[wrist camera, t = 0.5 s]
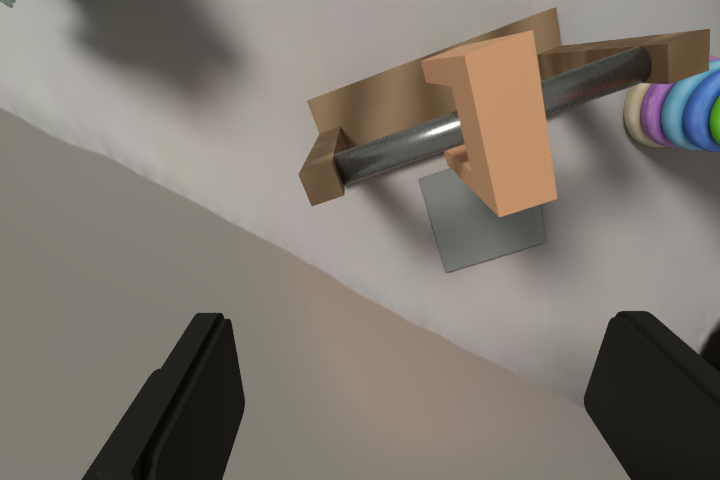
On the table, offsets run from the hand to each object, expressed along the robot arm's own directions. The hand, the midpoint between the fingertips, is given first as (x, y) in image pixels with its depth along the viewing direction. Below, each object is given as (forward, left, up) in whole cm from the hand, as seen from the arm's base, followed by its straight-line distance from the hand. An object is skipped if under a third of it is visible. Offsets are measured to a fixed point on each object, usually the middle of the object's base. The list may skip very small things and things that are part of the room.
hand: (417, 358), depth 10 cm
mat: (-9, +10, -30) cm, 33 cm away
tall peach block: (-7, -2, -23) cm, 24 cm away
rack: (-7, -2, -30) cm, 31 cm away
